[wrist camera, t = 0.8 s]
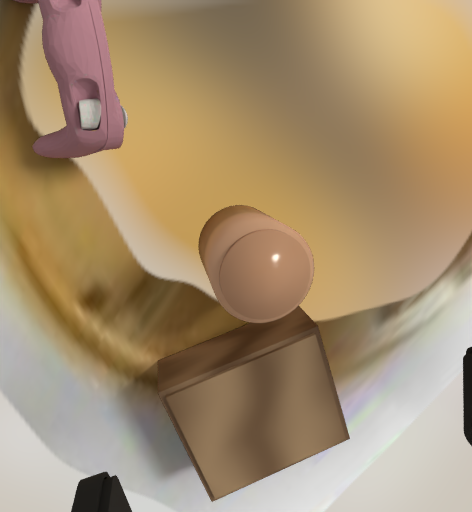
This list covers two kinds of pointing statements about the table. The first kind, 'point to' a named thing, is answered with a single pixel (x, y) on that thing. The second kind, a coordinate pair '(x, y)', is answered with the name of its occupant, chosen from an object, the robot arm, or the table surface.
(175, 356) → the walnut block
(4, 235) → the table surface
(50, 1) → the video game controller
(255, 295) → the canister
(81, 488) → the robot arm
